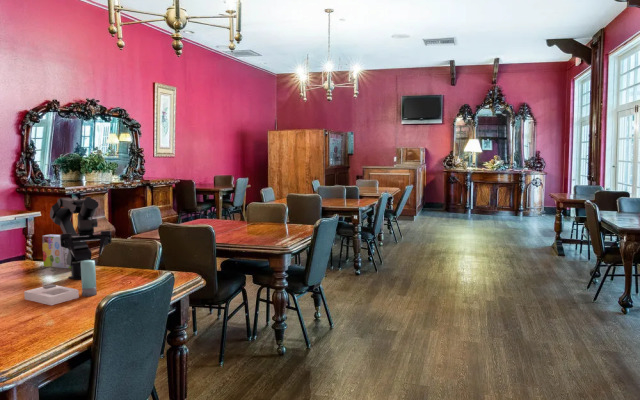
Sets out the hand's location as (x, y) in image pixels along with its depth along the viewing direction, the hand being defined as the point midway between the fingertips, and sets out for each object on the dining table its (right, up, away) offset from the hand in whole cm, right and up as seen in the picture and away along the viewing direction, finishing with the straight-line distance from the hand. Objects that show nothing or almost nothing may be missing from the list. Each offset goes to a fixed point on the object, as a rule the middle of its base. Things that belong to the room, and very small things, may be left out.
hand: (87, 255), depth 202 cm
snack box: (-30, -10, +41) cm, 52 cm away
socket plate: (-8, -15, -11) cm, 20 cm away
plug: (+3, -14, -6) cm, 16 cm away
